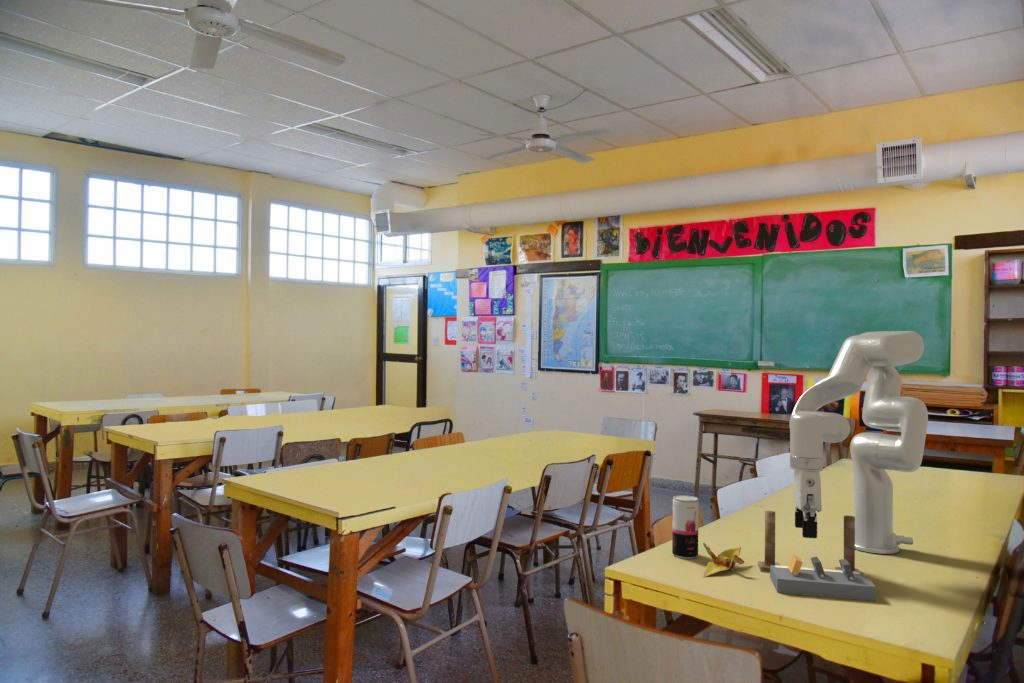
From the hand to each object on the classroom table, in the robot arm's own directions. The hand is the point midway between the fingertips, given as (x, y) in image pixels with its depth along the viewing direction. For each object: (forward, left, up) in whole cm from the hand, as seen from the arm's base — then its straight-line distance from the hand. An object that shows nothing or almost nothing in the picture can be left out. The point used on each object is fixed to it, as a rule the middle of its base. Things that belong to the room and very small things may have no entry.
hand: (805, 532), depth 165 cm
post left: (+9, +3, -9) cm, 13 cm away
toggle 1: (+6, +15, -6) cm, 17 cm away
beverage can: (+29, -3, -9) cm, 30 cm away
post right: (-9, +3, -9) cm, 13 cm away
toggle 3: (-6, +15, -6) cm, 17 cm away
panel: (0, +15, -9) cm, 18 cm away
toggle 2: (0, +15, -6) cm, 16 cm away
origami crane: (+20, +7, -9) cm, 23 cm away
